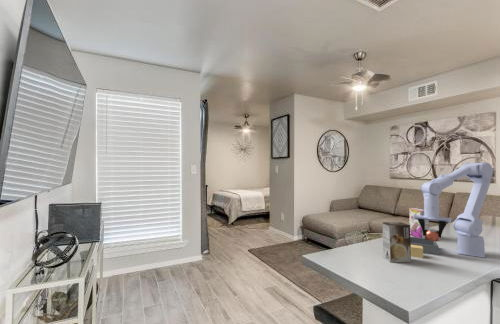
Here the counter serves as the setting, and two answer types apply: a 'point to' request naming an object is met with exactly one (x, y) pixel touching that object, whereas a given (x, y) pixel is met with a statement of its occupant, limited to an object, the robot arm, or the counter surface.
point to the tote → (426, 245)
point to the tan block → (416, 251)
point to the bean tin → (431, 234)
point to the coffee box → (396, 242)
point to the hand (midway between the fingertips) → (431, 236)
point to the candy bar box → (416, 223)
